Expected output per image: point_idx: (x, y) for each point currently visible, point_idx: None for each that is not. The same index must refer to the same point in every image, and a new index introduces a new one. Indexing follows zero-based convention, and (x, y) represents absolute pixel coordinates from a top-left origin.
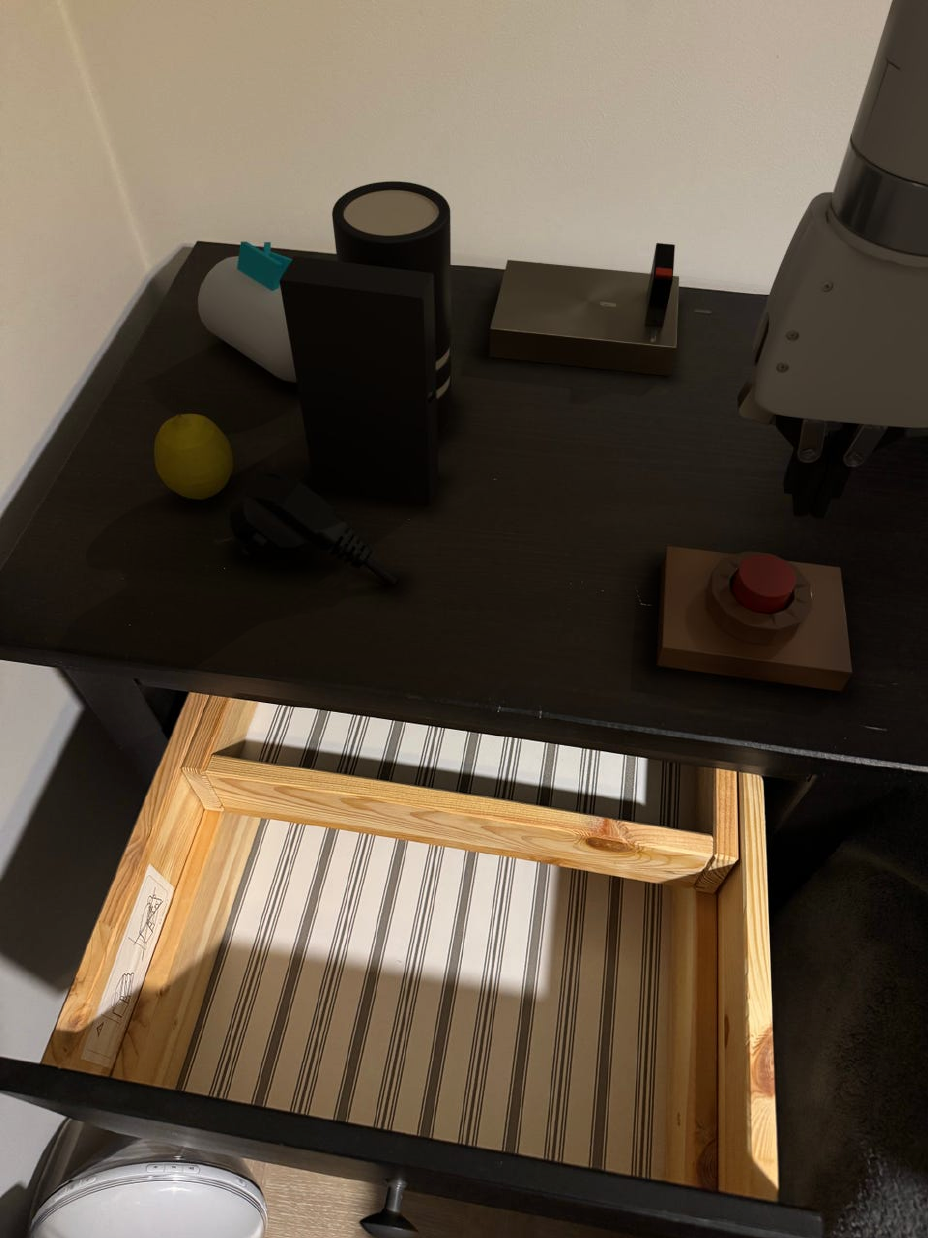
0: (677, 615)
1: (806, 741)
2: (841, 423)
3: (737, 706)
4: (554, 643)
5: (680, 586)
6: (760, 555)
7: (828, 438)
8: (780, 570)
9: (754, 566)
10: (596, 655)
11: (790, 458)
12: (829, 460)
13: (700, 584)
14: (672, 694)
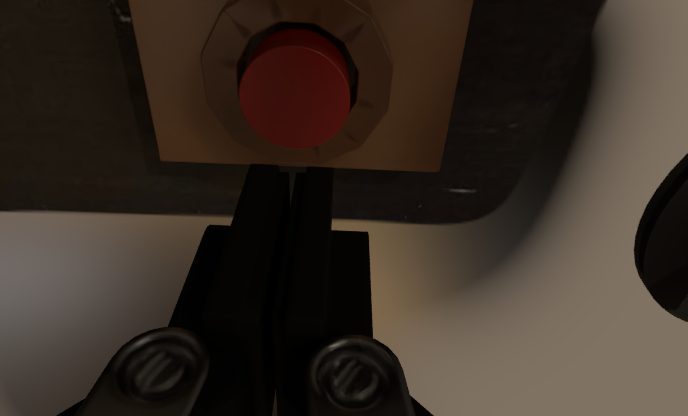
0: (171, 102)
1: (372, 214)
2: (306, 408)
3: (290, 181)
4: (16, 114)
5: (164, 35)
6: (281, 49)
7: (282, 340)
8: (321, 86)
9: (269, 82)
10: (85, 127)
11: (189, 272)
12: (280, 414)
13: (200, 25)
14: (204, 174)
